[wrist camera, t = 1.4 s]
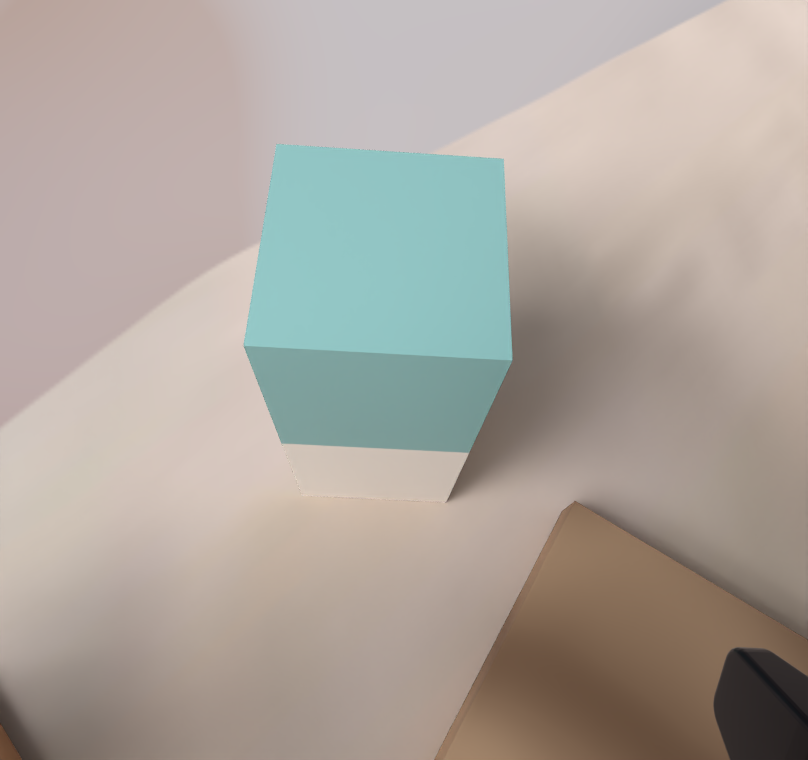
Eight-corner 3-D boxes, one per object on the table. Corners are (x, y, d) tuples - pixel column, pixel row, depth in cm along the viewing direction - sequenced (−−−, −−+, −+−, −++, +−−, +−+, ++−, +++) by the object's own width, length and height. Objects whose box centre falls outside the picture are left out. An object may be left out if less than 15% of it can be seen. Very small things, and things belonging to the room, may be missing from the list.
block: (445, 502, 22) (512, 360, 12) (301, 495, 21) (243, 345, 11) (446, 373, 24) (503, 159, 14) (315, 366, 23) (276, 144, 14)
